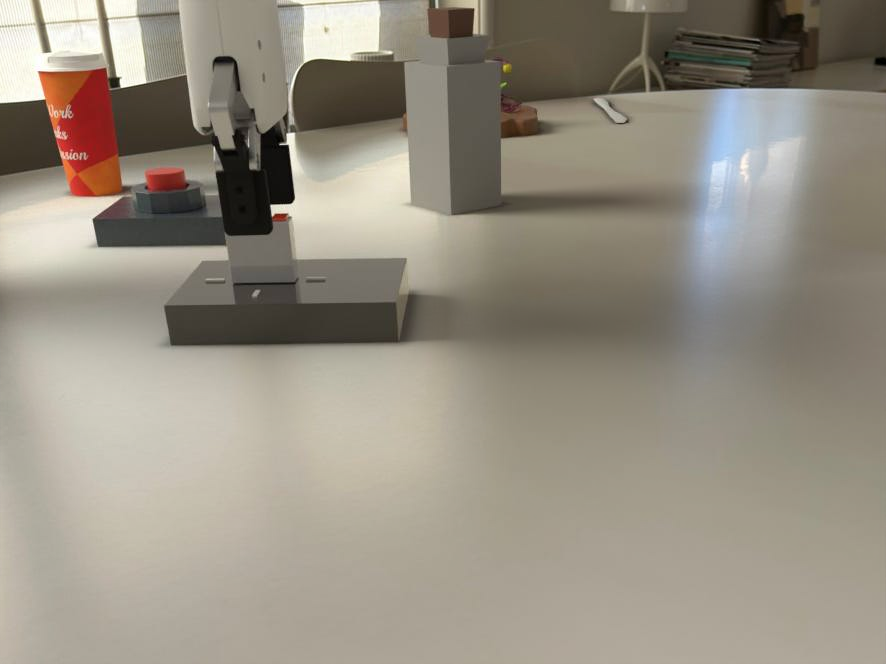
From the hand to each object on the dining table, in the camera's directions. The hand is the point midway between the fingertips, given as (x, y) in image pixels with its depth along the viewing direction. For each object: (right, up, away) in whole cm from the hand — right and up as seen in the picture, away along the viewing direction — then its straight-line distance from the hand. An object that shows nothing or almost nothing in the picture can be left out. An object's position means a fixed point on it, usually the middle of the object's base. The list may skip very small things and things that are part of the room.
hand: (262, 218), depth 75 cm
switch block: (-14, +9, +28) cm, 32 cm away
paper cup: (-28, +21, +45) cm, 57 cm away
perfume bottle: (+13, +16, +37) cm, 42 cm away
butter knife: (+36, +54, +93) cm, 113 cm away
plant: (+14, +45, +81) cm, 93 cm away
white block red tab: (0, -4, +2) cm, 4 cm away
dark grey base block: (+2, -6, +4) cm, 8 cm away
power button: (-14, +13, +25) cm, 32 cm away
